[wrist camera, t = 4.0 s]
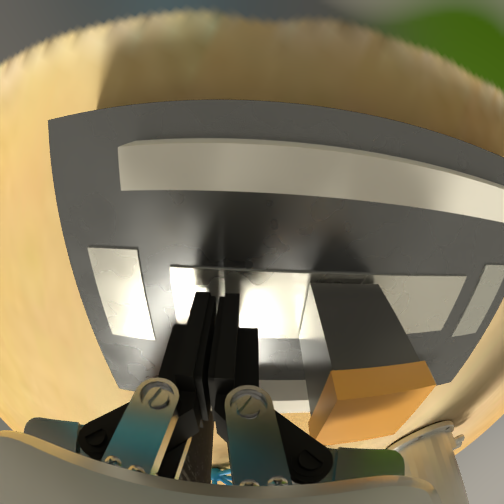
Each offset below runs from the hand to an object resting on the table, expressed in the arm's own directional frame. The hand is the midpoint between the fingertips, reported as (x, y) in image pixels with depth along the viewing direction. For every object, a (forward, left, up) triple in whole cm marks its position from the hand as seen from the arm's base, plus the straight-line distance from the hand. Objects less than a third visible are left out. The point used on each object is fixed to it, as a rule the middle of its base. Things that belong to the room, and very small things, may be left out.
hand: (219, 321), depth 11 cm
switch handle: (-5, 0, -1) cm, 5 cm away
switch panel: (-5, 0, -5) cm, 7 cm away
